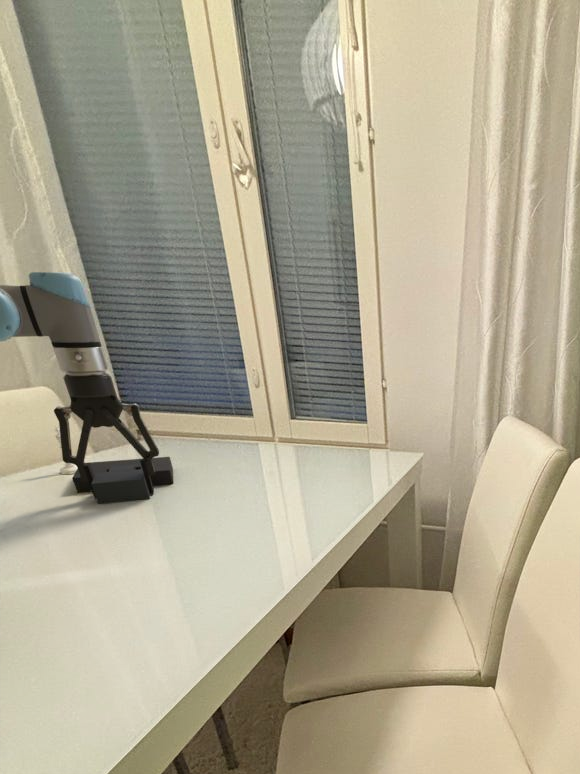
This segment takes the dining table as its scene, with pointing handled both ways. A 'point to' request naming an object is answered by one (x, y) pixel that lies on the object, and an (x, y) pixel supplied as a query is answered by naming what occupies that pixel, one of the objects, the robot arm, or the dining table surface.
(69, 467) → the chess piece
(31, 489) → the dining table surface
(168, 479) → the notch mat
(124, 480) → the pad
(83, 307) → the robot arm
